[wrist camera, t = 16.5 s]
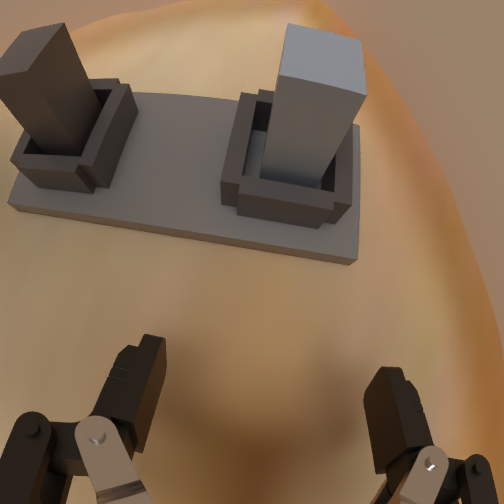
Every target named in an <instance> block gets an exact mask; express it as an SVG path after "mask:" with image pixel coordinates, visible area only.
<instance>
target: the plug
mask: <svg viewBox="0 0 504 504" xmlns="http://www.w3.org/2000/svg"><path fill="white" fill-rule="evenodd" d="M366 96H367V90H366V79H365V69H364V60H363V52H362V44H361V41H360V40H356V39H353V38H349V37H346V36H342V35H338V34H335V33H331V32H327V31H322V30H318V29H314V28H309V27H304V26H299V25H294V24H289V23H288V25H287V30H286V35H285V40H284V45H283V50H282V56H281V61H280V66H279V71H278V76H277V82H276V87H275V92H274V97H273V102H272V108H271V113H270V118H269V123H268V129H267V134H266V139H265V145H264V151H263V157H262V163H261V168H260V174H259V178H260V179H266V180H272V181H277V182H283V183H288V184H294V185H299V186H304V187H309V188H314V189H316V187H317V185H318V183H319V182H320V180H321V178H322V176H323V175H324V173H325V171H326V169H327V167H328V166H329V164H330V162H331V160H332V158H333V157H334V155H335V153H336V151H337V149H338V148H339V146H340V144H341V142H342V140H343V139H344V137H345V135H346V133H347V131H348V129H349V128H350V126H351V124H352V122H353V120H354V118H355V117H356V115H357V113H358V111H359V109H360V107H361V106H362V104H363V102H364V100H365V98H366Z"/></svg>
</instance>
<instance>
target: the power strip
mask: <svg viewBox="0 0 504 504" xmlns="http://www.w3.org/2000/svg"><path fill="white" fill-rule="evenodd" d="M273 97H274V91H268V90H261V89H259V92H258V95H256V94H250V93H243V92H241V95H240V99H239V101H235V100H227V99H219V98H210V97H201V96H190V95H177V94H162V93H141V92H132V91H131V88H130V85H129V84H120V81H119V79H118V78H114V79H88V77H87V75H86V72H85V70H84V68H83V66H82V63H81V61H80V59H79V56H78V54H77V52H76V49H75V47H74V45H73V42H72V40H71V38H70V35H69V33H68V30H67V28H66V25H65V23H59V24H54V25H49V26H44V27H40V28H36V29H31V30H27V31H23V32H21V33H20V35H19V36H18V37H17V38H16V39H15V40H14V42H13V43H12V44H11V46H10V47H9V48H8V49H7V51H6V52H5V53H4V54H3V56H2V57H1V58H0V99H1V100H2V101H3V103H4V104H5V105H6V107H7V108H8V109H9V110H10V112H11V113H12V114H13V115H14V117H15V118H16V119H17V120H18V122H19V123H20V124H21V125H22V127H23V128H24V131H23V133H22V135H21V137H20V139H19V141H18V144H17V146H16V148H15V150H14V152H13V154H12V156H11V159H10V161H11V162H12V163H13V164H14V165H15V166H16V167H17V169H18V170H19V173H18V176H17V178H16V181H15V183H14V186H13V189H12V191H11V194H10V197H9V199H8V202H7V203H8V204H9V205H11V206H12V207H13V208H15V209H16V210H18V211H24V212H30V213H36V214H43V215H49V216H55V217H61V218H67V219H74V220H80V221H86V222H92V223H98V224H104V225H110V226H116V227H123V228H129V229H135V230H141V231H147V232H153V233H159V234H165V235H171V236H177V237H183V238H189V239H195V240H201V241H208V242H214V243H220V244H226V245H232V246H238V247H244V248H250V249H256V250H262V251H268V252H274V253H280V254H286V255H291V256H297V257H303V258H309V259H315V260H321V261H327V262H333V263H339V264H345V265H350V264H351V263H353V262H355V261H356V260H358V243H359V221H360V126H359V125H356V124H353V122H352V124H351V126H350V128H349V129H348V131H347V133H346V135H345V137H344V139H343V140H342V142H341V144H340V146H339V148H338V149H337V151H336V153H335V155H334V157H333V158H332V160H331V162H330V164H329V166H328V167H327V169H326V171H325V173H324V175H323V176H322V178H321V180H320V182H319V183H318V185H317V187H316V189H314V188H309V187H304V186H299V185H294V184H288V183H283V182H277V181H272V180H266V179H260V178H259V174H260V168H261V163H262V157H263V151H264V145H265V139H266V134H267V129H268V123H269V118H270V113H271V108H272V102H273Z"/></svg>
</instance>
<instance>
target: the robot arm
mask: <svg viewBox="0 0 504 504" xmlns="http://www.w3.org/2000/svg"><path fill="white" fill-rule="evenodd" d="M166 368H167V360H166V340H165V338H163V337H158V336H153V335H149V334H144V335H143V337H142V339H141V342H140V344H139V346H138V347H136V346H132V345H128V346H127V347H125V348H124V349H123V350H122V351H121V352H120V353H119V354H118V356H117V358H116V360H115V362H114V364H113V368H112V369H111V371H110V373H109V377H107V380H106V382H105V384H104V386H103V389H102V391H101V393H100V395H99V398H98V400H97V402H96V405H95V407H94V409H93V411H92V413H91V414H90V415H89V416H88V417H86V418H84V419H83V420H81V421H79V422H75V423H64V422H49V420H48V419H47V418H46V417H45V416H44V415H43V414H41V413H38V412H26V413H24V414H22V415H21V416H20V417H19V418H18V419H17V420H16V422H15V424H14V427H13V429H12V431H11V434H10V436H9V438H8V441H7V443H6V446H5V448H4V451H3V453H2V456H1V458H0V504H66V501H67V497H68V493H69V489H70V485H71V482H72V478H73V475H75V476H89V477H90V480H91V482H92V485H93V487H94V490H95V492H96V496H97V497H96V499H97V503H98V504H154V503H153V502H152V500H151V498H150V496H149V494H148V493H147V491H146V489H145V487H144V485H143V484H142V482H141V480H140V478H139V476H138V474H137V472H136V470H135V468H134V466H133V464H132V458H133V455H134V451H135V452H139V453H143V450H144V447H145V443H146V440H147V436H148V433H149V429H150V426H151V423H152V419H153V416H154V412H155V409H156V406H157V402H158V399H159V396H160V393H161V389H162V386H163V383H164V379H165V375H166ZM420 402H421V401H420V398H419V395H418V392H417V390H416V388H415V387H414V386H413V384H412V383H411V382H410V381H406V380H405V377H404V374H403V371H402V369H401V368H400V367H381V368H380V369H379V370H378V372H377V373H376V375H375V376H374V378H373V380H372V381H371V383H370V384H369V386H368V387H367V389H366V391H365V393H364V399H363V403H364V409H365V414H366V419H367V425H368V430H369V436H370V442H371V448H372V454H373V460H374V466H375V473H376V474H385V473H386V477H387V479H386V480H385V481H384V482H383V483H382V485H381V487H380V489H379V490H378V492H377V493H376V495H375V497H374V498H373V500H372V501H371V503H370V504H459V502H458V499H460V498H461V501H462V504H499V503H498V498H497V494H496V489H495V484H494V480H493V476H492V472H491V468H490V464H489V462H488V461H487V459H486V458H485V457H483V456H482V455H479V454H474V455H471V456H470V457H469V458H467V459H466V460H465V461H464V460H458V459H452V458H448V457H447V455H446V454H445V452H444V451H443V450H442V449H440V448H439V447H436V446H434V444H433V441H432V437H431V434H430V430H429V427H428V423H427V420H426V417H425V414H424V413H423V407H422V404H420Z"/></svg>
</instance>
